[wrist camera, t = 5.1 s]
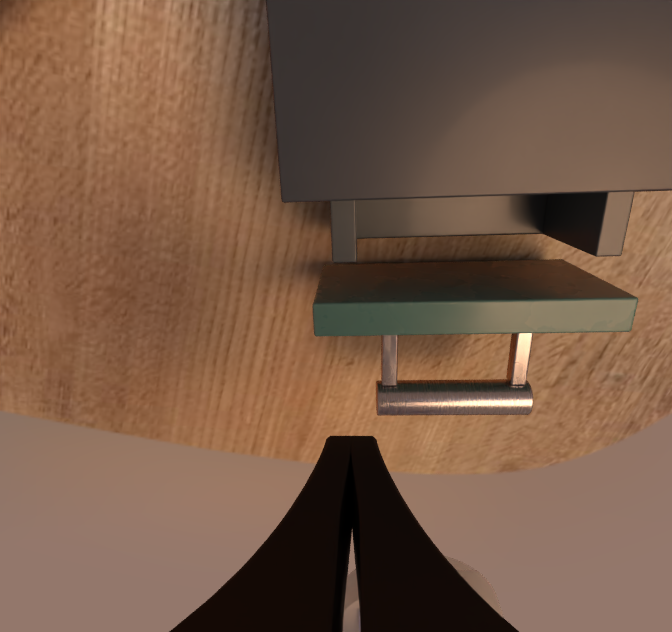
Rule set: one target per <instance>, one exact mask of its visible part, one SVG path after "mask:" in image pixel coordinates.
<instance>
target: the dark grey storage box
mask: <svg viewBox="0 0 672 632" xmlns="http://www.w3.org/2000/svg"><path fill="white" fill-rule="evenodd" d="M266 7H267V20H268V33H269V46H270V58H271V71H272V84H273V97H274V110H275V122H276V135H277V148H278V161H279V174H280V186H281V199H282V202H284V203H288V202H320V201H351V200H383V199H415V198H447V197H479V196H511V195H542V194H574V193H606V192H638V191H670V190H672V0H266Z"/></svg>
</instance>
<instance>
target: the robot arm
mask: <svg viewBox="0 0 672 632" xmlns="http://www.w3.org/2000/svg"><path fill="white" fill-rule="evenodd" d="M352 529H353V542H354V553H355V564H356V575H357V586H358V597H359V608H360V609H359V612H358V616H359V632H519V631H518V630H516V629H515V628H514V627H513V626H512V625H511V624H510V623H508V622H507V621H506V620H505V619H504V618H503V617H502V616H501V615H500V614H499V613H497V612H496V611H495V610H494V609H493V608H492V607H491V606H490V605H489V604H488V603H487V602H486V601H485V600H484V599H483V598H482V597H481V596H480V595H479V594H478V593H477V592H476V591H475V590H474V589H473V588H472V587H471V586H470V585H469V584H468V582H467V581H466V580H465V579H464V578H463V577H462V576H461V575H460V574H459V573H458V571H457V570H456V569H455V568H454V567H453V566H452V565H451V564H450V563H449V562H448V560H447V559H446V558H445V557H444V556H443V554H442V553H441V552H440V551H439V549H438V548H437V547H436V546H435V544H434V543H433V542H432V541H431V539H430V538H429V537H428V535H427V534H426V533H425V531H424V530H423V528H422V527H421V526H420V524H419V523H418V521H417V520H416V518H415V517H414V515H413V514H412V512H411V511H410V509H409V507H408V506H407V504H406V503H405V501H404V499H403V498H402V496H401V494H400V493H399V491H398V489H397V487H396V485H395V483H394V481H393V479H392V478H391V476H390V474H389V472H388V470H387V467H386V465H385V463H384V461H383V458H382V456H381V453H380V451H379V448H378V444H377V440H376V439H375V438H374V437H373V436H330V437H328V438H327V439H326V442H325V446H324V448H323V451H322V453H321V455H320V458H319V460H318V462H317V464H316V466H315V468H314V470H313V472H312V473H311V475H310V477H309V479H308V481H307V483H306V484H305V486H304V488H303V489H302V491H301V493H300V494H299V496H298V497H297V499H296V500H295V502H294V503H293V505H292V507H291V508H290V509H289V511H288V512H287V514H286V515H285V517H284V518H283V519H282V521H281V522H280V523H279V525H278V526H277V527H276V529H275V530H274V531H273V532H272V534H271V535H270V536H269V538H268V539H267V540H266V541H265V542H264V544H262V546H261V547H260V548H259V549H258V550H257V551H256V553H255V554H254V555H253V556H252V557H251V558H250V559H249V561H247V563H246V564H245V565H244V566H243V567H242V568H241V569H240V570H239V571H238V572H237V573H236V574H235V575H234V576H233V577H232V578H231V579H230V580H228V581H227V582H226V583H225V584H224V585H223V586H222V587H221V588H220V589H219V590H218V591H217V592H216V593H215V594H214V595H213V596H212V597H211V598H210V599H208V600H207V601H206V602H205V603H204V604H203V605H201V606H200V607H199V608H198V609H196V611H194V612H193V613H192V614H190V615H189V616H188V617H187V618H186V619H184V620H183V621H182V622H181V623H180V624H178V625H177V626H176V627H175V628H173V630H171V631H170V632H343V617H344V604H345V594H346V584H347V574H348V564H349V554H350V544H351V533H352Z"/></svg>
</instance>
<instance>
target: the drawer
mask: <svg viewBox="0 0 672 632" xmlns="http://www.w3.org/2000/svg"><path fill="white" fill-rule="evenodd" d="M633 197H634V192H606V193H574V194H542V195H511V196H479V197H447V198H415V199H383V200H351V201H330V215H331V241H332V261H333V262H334V263H342V262H357V239H365V238H402V237H440V236H477V235H515V234H544V235H547V236H549V237H551V238H554V239H556V240H559V241H561V242H563V243H566V244H568V245H570V246H573V247H575V248H577V249H580V250H582V251H584V252H587V253H589V254H591V255H594V256H596V257H597V256H621V254H622V249H623V245H624V240H625V235H626V230H627V226H628V221H629V216H630V211H631V207H632V202H633ZM637 303H638V298H637V297H635V296H633V295H631V294H629V293H627V292H625V291H623V290H621V289H619V288H617V287H616V286H614V285H612V284H610V283H608V282H606V281H604V280H602V279H600V278H598V277H596V276H594V275H592V274H590V273H588V272H586V271H584V270H582V269H580V268H578V267H576V266H574V265H572V264H570V263H568V262H566V261H564V260H562V259H555V260H513V261H470V262H428V263H386V264H344V265H324V266H323V270H322V273H321V277H320V281H319V284H318V288H317V291H316V295H315V299H314V302H313V322H314V335H315V336H374V335H381V381H376V410H377V415H528V414H530V413H531V411H532V407H533V394H532V389H531V386H530V384H529V382H528V381H527V380H526V379H527V372H528V365H529V358H530V351H531V344H532V337H533V333H575V332H629V331H631V329H632V324H633V320H634V316H635V311H636V307H637ZM508 333H512V336H511V344H510V352H509V360H508V368H507V376H506V378H507V379H493V380H397V364H398V335H441V334H508Z"/></svg>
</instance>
